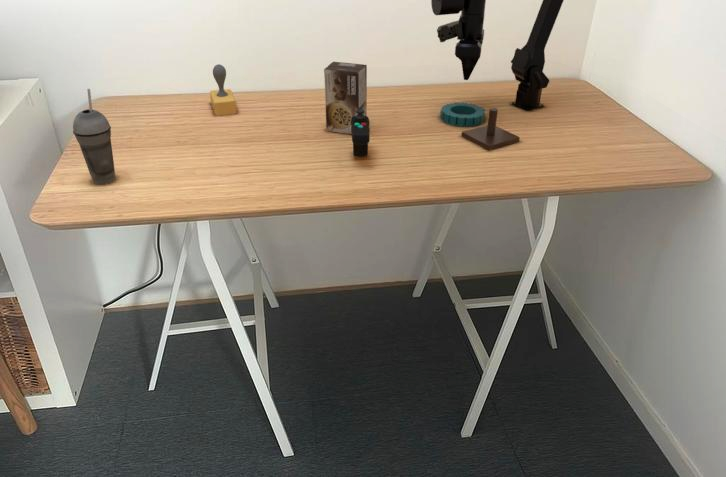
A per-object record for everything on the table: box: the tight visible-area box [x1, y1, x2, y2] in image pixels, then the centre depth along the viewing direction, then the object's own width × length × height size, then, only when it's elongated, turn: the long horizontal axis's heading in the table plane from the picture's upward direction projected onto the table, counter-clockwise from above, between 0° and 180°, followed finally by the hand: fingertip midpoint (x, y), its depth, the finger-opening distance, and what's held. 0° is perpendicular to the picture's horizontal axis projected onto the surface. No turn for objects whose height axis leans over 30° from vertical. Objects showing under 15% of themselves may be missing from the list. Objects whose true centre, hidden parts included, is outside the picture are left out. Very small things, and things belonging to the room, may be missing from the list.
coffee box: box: [323, 61, 368, 135], centre depth 153 cm, size 9×6×16 cm
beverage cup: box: [72, 88, 116, 186], centre depth 127 cm, size 7×7×20 cm
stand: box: [460, 107, 521, 151], centre depth 151 cm, size 10×10×8 cm
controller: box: [350, 109, 371, 158], centre depth 141 cm, size 4×12×10 cm, turn 1°
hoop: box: [440, 102, 486, 128], centre depth 163 cm, size 11×11×2 cm
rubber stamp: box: [209, 63, 238, 116], centre depth 166 cm, size 10×6×12 cm, turn 18°
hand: (467, 74), depth 161 cm, fingers open, 9 cm apart
